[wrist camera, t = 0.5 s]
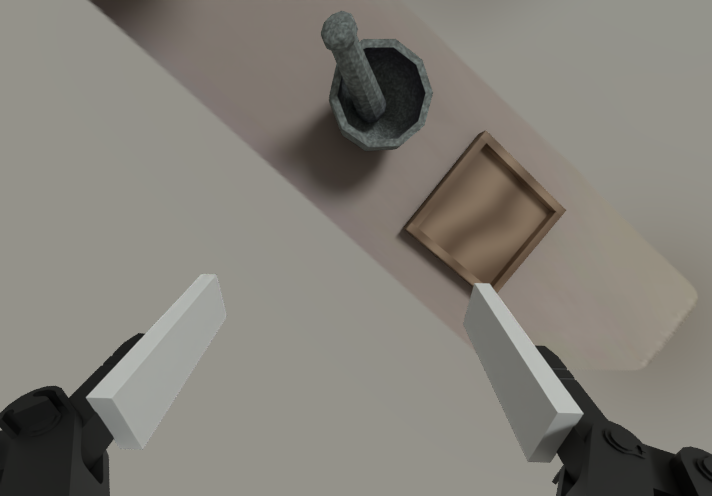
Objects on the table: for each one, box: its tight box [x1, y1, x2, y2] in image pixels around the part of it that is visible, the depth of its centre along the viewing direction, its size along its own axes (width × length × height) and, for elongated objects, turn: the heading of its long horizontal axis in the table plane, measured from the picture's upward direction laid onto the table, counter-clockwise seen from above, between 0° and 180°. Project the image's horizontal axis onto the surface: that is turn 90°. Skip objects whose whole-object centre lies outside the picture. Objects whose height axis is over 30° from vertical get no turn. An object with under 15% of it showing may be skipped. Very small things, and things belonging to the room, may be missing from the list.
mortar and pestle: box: [321, 11, 433, 151], centre depth 26 cm, size 11×9×12 cm
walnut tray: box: [403, 131, 566, 293], centre depth 35 cm, size 15×15×2 cm
